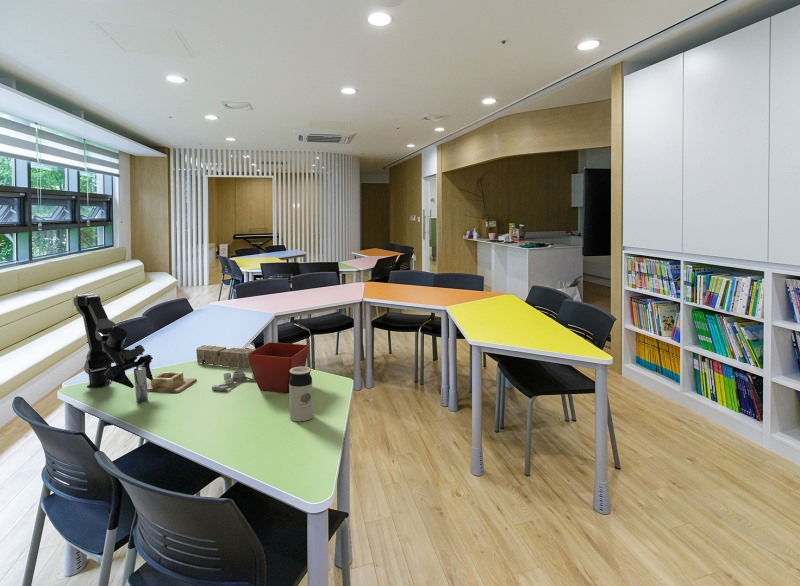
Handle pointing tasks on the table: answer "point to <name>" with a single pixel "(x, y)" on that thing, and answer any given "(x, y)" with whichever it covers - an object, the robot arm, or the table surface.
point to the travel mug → (300, 394)
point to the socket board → (169, 382)
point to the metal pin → (140, 384)
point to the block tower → (223, 356)
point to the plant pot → (276, 365)
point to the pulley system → (229, 381)
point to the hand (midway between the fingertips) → (142, 383)
